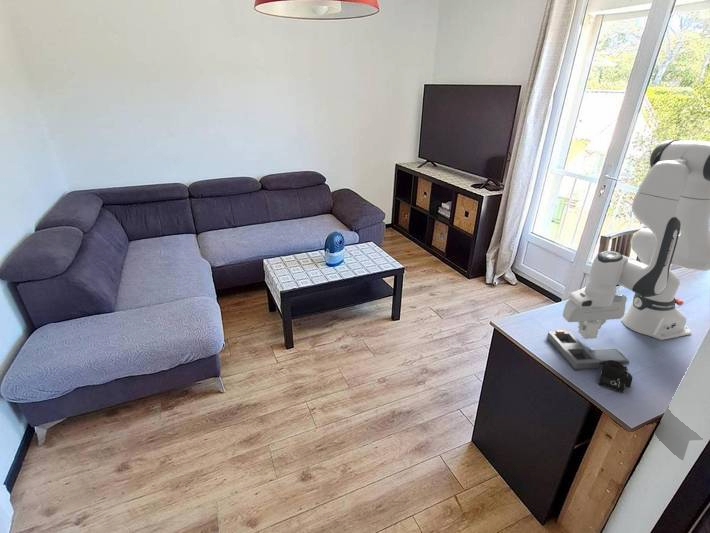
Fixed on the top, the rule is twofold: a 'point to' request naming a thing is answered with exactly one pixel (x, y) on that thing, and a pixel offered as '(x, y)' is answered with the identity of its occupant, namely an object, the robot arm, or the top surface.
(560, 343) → the power strip
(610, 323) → the top surface
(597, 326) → the charger
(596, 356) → the plate
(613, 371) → the film camera
